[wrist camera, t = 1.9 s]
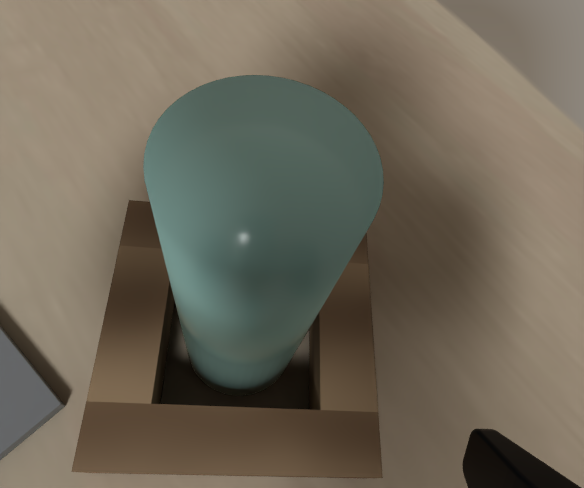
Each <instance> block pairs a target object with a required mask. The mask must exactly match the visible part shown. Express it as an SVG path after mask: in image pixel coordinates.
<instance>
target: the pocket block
mask: <svg viewBox="0 0 584 488" xmlns="http://www.w3.org/2000/svg"><path fill="white" fill-rule="evenodd" d="M174 302H175V300H174V296H173V292H172V288H171V284H170V280H169V276H168V272H167V268H166V264H165V260H164V256H163V252H162V248H161V244H160V240H159V236H158V232H157V228H156V224H155V220H154V216H153V212H152V208H151V204H150V202H143V201H132V200H129V203H128V208H127V213H126V217H125V222H124V227H123V231H122V236H121V241H120V246H119V250H118V255H117V260H116V264H115V269H114V274H113V279H112V283H111V288H110V293H109V297H108V302H107V307H106V312H105V316H104V321H103V326H102V330H101V335H100V340H99V345H98V349H97V354H96V359H95V363H94V368H93V373H92V378H91V382H90V387H89V392H88V396H87V401H86V406H85V411H84V415H83V420H82V425H81V429H80V434H79V439H78V444H77V448H76V453H75V458H74V462H73V467H72V472H85V473H126V474H177V475H228V476H278V477H329V478H383V477H382V462H381V447H380V432H379V417H378V402H377V387H376V372H375V357H374V341H373V326H372V311H371V296H370V281H369V266H368V251H367V236H366V233H365V235H364V237H363V238H362V240H361V242H360V244H359V245H358V247H357V249H356V250H355V252H354V254H353V255H352V257H351V259H350V261H349V262H348V264H347V266H346V267H345V269H344V271H343V272H342V274H341V276H340V277H339V279H338V281H337V283H336V284H335V286H334V288H333V289H332V291H331V293H330V294H329V296H328V298H327V300H326V301H325V303H324V305H323V306H322V308H321V310H320V311H319V313H318V315H317V317H316V318H315V320H314V322H313V323H312V325H311V327H310V328H309V410H307V409H280V408H253V407H226V406H199V405H171V404H160V401H161V394H162V387H163V380H164V373H165V366H166V359H167V351H168V344H169V337H170V330H171V323H172V316H173V309H174Z"/></svg>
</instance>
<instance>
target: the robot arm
mask: <svg viewBox="0 0 584 488" xmlns="http://www.w3.org/2000/svg"><path fill="white" fill-rule="evenodd" d="M463 473H464V477H465V480H466V483H467V486H468V488H581V487H579V486H578V485H576V484H575V483H573V482H572V481H570V480H569V479H567V478H566V477H564V476H563V475H561V474H560V473H558V472H557V471H555V470H554V469H552V468H551V467H550V466H548V465H547V464H545V463H544V462H542V461H541V460H539V459H538V458H536V457H535V456H533V455H532V454H530V453H529V452H527V451H526V450H524V449H523V448H521V447H520V446H518V445H517V444H515V443H514V442H512V441H511V440H509V439H508V438H506V437H505V436H503V435H502V434H500V433H499V432H497V431H496V430H493V429H474V430H473V431H472V432H471V434H470V437H469V441H468V445H467V448H466V452H465V455H464V459H463Z"/></svg>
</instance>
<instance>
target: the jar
mask: <svg viewBox="0 0 584 488" xmlns="http://www.w3.org/2000/svg"><path fill="white" fill-rule="evenodd" d="M143 168H144V178H145V184H146V188H147V192H148V196H149V200H150V204H151V208H152V212H153V216H154V220H155V224H156V228H157V232H158V236H159V240H160V244H161V248H162V252H163V256H164V260H165V264H166V268H167V272H168V276H169V280H170V284H171V288H172V292H173V296H174V300H175V304H176V308H177V312H178V316H179V320H180V324H181V328H182V332H183V336H184V340H185V344H186V348H187V352H188V356H189V360H190V363H191V365H192V368H193V369H194V371H195V373H196V374H197V375H198V377H199V378H200V379H201V380H202V381H203V382H204V383H205V384H206V385H208V386H209V387H211V388H212V389H214V390H216V391H218V392H221V393H223V394H227V395H233V396H245V395H251V394H255V393H258V392H260V391H262V390H264V389H266V388H268V387H269V386H271V385H272V384H273V383H274V382H276V381H277V380H278V379H279V377H280V376H281V375H282V374H283V372H284V371H285V369H286V367H287V366H288V364H289V362H290V361H291V359H292V357H293V356H294V354H295V352H296V350H297V349H298V347H299V345H300V344H301V342H302V340H303V339H304V337H305V335H306V334H307V332H308V330H309V328H310V327H311V325H312V323H313V322H314V320H315V318H316V317H317V315H318V313H319V311H320V310H321V308H322V306H323V305H324V303H325V301H326V300H327V298H328V296H329V294H330V293H331V291H332V289H333V288H334V286H335V284H336V283H337V281H338V279H339V277H340V276H341V274H342V272H343V271H344V269H345V267H346V266H347V264H348V262H349V261H350V259H351V257H352V255H353V254H354V252H355V250H356V249H357V247H358V245H359V244H360V242H361V240H362V238H363V237H364V235H365V233H366V232H367V230H368V228H369V227H370V225H371V223H372V221H373V220H374V218H375V215H376V213H377V211H378V209H379V206H380V202H381V198H382V194H383V184H384V181H383V168H382V164H381V159H380V156H379V153H378V150H377V147H376V145H375V143H374V141H373V139H372V138H371V136H370V134H369V133H368V131H367V130H366V128H365V127H364V125H363V124H362V123H361V122H360V121H359V120H358V119H357V117H356V116H355V115H354V114H353V113H352V112H351V111H349V110H348V109H347V108H346V107H345V106H344V105H342V104H341V103H340V102H338V101H337V100H335V99H334V98H332V97H331V96H329V95H327V94H326V93H324V92H322V91H320V90H318V89H316V88H313V87H311V86H309V85H306V84H303V83H300V82H297V81H294V80H290V79H285V78H281V77H274V76H263V75H246V76H235V77H229V78H224V79H220V80H216V81H213V82H210V83H207V84H205V85H202V86H200V87H198V88H196V89H194V90H192V91H190V92H188V93H187V94H185V95H184V96H182V97H181V98H179V99H178V100H177V101H175V102H174V103H173V104H172V105H171V106H170V107H169V108H168V109H167V110H166V111H165V112H164V113H163V114H162V116H161V117H160V118H159V120H158V121H157V123H156V124H155V126H154V127H153V129H152V131H151V134H150V136H149V139H148V141H147V145H146V149H145V153H144V166H143Z"/></svg>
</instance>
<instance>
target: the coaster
mask: <svg viewBox="0 0 584 488" xmlns="http://www.w3.org/2000/svg"><path fill="white" fill-rule="evenodd" d="M64 407H65V405H64V404H63V403H62V401H61V400H60V399H59V398H58V396H57V395H56V394H55V393H54V391H53V390H52V389H51V388H50V386H49V385H48V384H47V383H46V381H45V380H44V379H43V378H42V377H41V375H40V374H39V373H38V372H37V370H36V369H35V368H34V367H33V365H32V364H31V363H30V362H29V360H28V359H27V358H26V357H25V355H24V354H23V353H22V352H21V351H20V349H19V348H18V347H17V346H16V344H15V343H14V342H13V341H12V339H11V338H10V337H9V336H8V334H7V333H6V332H5V331H4V329H3V328H2V327H1V326H0V460H1V459H2V458H4V457H5V456H6V455H7V454H8V453H10V452H11V451H12V450H13V449H14V448H16V447H17V446H18V445H19V444H20V443H22V442H23V441H24V440H25V439H26V438H28V437H29V436H30V435H31V434H32V433H34V432H35V431H36V430H37V429H38V428H40V427H41V426H42V425H43V424H44V423H46V422H47V421H48V420H49V419H50V418H52V417H53V416H54V415H55V414H56V413H58V412H59V411H60V410H61V409H62V408H64Z"/></svg>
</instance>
